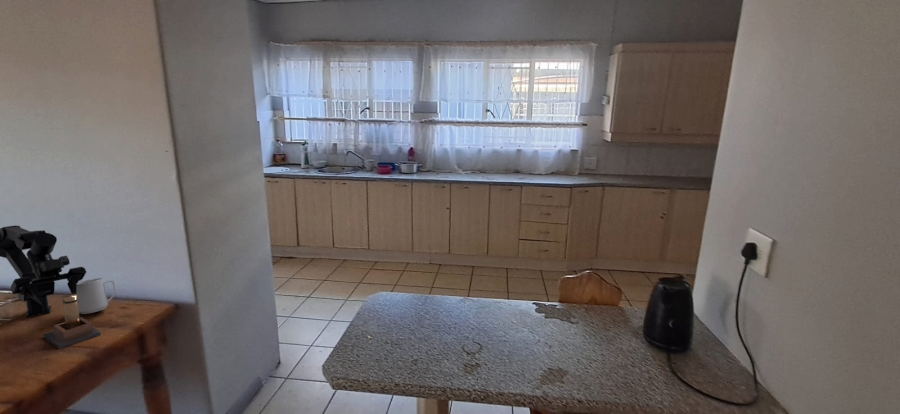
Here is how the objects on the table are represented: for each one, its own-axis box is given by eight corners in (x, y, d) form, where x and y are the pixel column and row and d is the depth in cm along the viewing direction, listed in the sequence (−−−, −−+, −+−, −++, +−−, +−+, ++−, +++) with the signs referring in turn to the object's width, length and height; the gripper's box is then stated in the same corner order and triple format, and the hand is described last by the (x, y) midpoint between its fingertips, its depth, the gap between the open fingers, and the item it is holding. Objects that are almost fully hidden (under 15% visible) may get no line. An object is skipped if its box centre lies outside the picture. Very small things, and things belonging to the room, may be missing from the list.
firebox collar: (43, 337, 142) (41, 326, 141) (84, 324, 151) (83, 314, 150) (59, 348, 136) (57, 337, 135) (100, 334, 145) (99, 324, 145)
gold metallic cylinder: (68, 331, 144) (64, 294, 142) (82, 329, 146) (78, 293, 144) (65, 336, 141) (61, 298, 139) (79, 334, 143) (75, 297, 141)
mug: (76, 316, 153) (70, 286, 152) (79, 312, 161) (73, 283, 160) (118, 306, 160) (112, 277, 159) (119, 302, 168) (113, 274, 167)
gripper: (10, 255, 137) (28, 296, 134) (82, 244, 154) (99, 280, 150) (3, 273, 142) (20, 313, 139) (73, 261, 159) (89, 297, 155)
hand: (59, 300), depth 146 cm, fingers open, 8 cm apart
